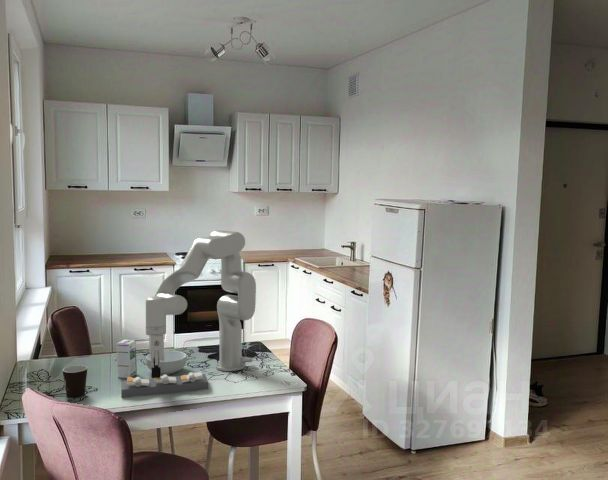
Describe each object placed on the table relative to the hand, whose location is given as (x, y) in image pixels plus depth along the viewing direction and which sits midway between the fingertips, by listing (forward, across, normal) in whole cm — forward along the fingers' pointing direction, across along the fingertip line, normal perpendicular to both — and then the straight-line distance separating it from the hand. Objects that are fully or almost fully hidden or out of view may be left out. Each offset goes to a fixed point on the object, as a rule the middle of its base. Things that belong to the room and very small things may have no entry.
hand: (156, 377), depth 216 cm
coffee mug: (+6, +6, +28) cm, 30 cm away
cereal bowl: (+6, +23, -5) cm, 25 cm away
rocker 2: (+2, 0, -14) cm, 14 cm away
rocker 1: (+2, 0, +7) cm, 7 cm away
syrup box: (+6, +22, +11) cm, 25 cm away
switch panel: (+6, +2, -4) cm, 7 cm away
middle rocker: (+2, 0, -3) cm, 4 cm away
